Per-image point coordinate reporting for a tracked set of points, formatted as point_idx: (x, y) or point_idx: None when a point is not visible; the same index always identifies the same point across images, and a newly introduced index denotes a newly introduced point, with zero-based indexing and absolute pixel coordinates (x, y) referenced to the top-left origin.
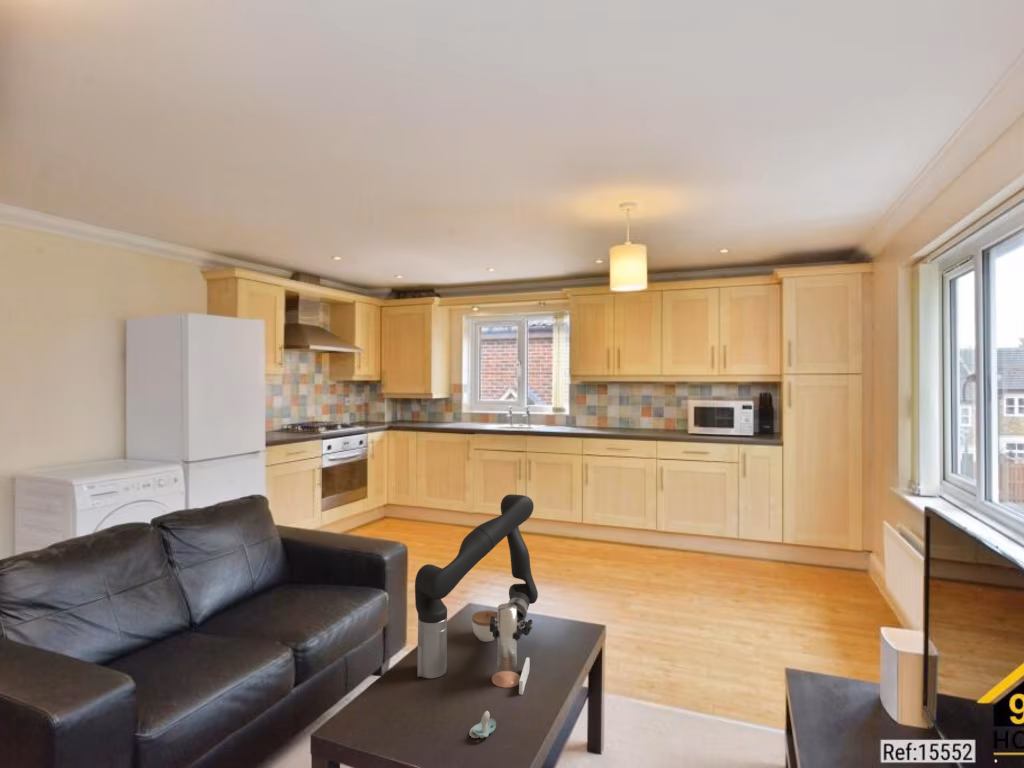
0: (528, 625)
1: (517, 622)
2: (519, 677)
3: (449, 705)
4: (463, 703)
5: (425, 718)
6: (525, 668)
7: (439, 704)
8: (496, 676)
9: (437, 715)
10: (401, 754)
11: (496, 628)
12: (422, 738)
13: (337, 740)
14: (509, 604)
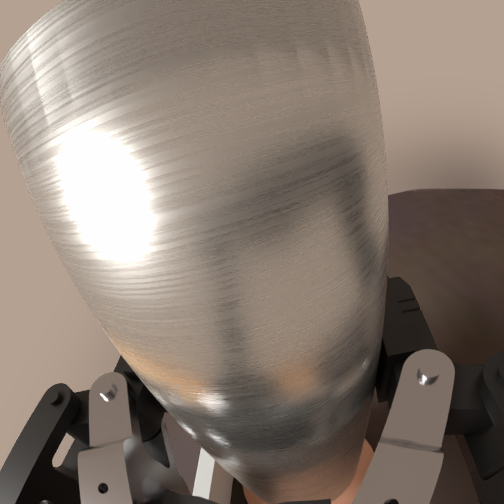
0: (29, 425)
1: (108, 457)
2: (249, 494)
3: (431, 289)
4: None
5: (443, 245)
6: (202, 462)
7: (454, 283)
8: (358, 476)
9: (429, 257)
10: (409, 195)
11: (393, 313)
12: (407, 216)
13: (497, 189)
14: (85, 20)
